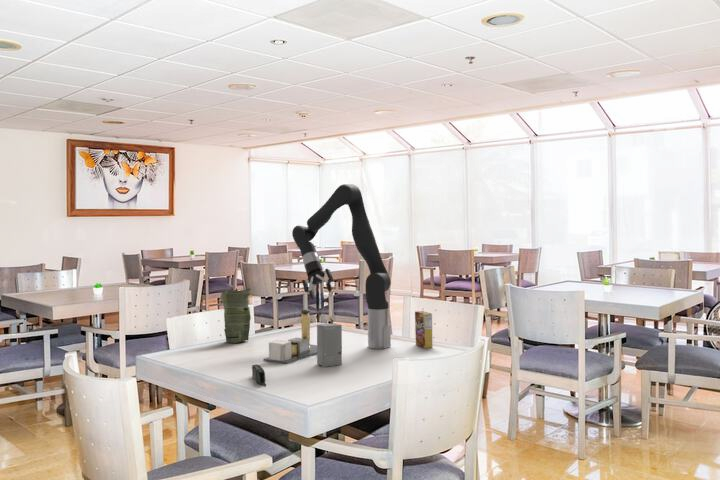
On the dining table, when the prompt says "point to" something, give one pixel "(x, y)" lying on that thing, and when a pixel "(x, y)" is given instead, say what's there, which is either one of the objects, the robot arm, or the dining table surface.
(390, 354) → the dining table surface
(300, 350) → the grey base with blocks
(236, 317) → the pouch
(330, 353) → the skincare box
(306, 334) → the yellow angular piece
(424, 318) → the candy box
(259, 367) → the mobile phone
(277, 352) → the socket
